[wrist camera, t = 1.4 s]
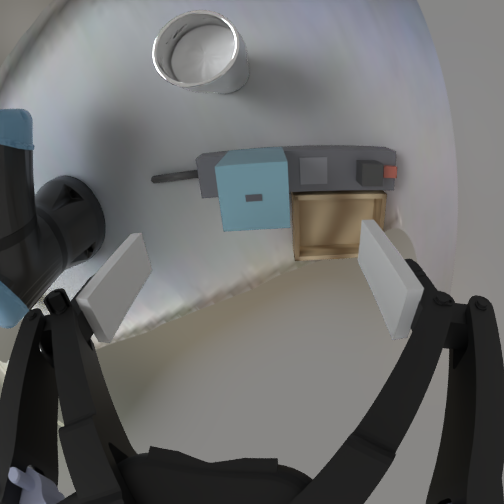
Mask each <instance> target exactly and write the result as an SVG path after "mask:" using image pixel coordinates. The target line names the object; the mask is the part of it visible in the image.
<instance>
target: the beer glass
mask: <svg viewBox="0 0 504 504" xmlns="http://www.w3.org/2000/svg"><path fill="white" fill-rule="evenodd" d="M152 59H153V64H154V66H155V69H156V70H157V72H158V73H159V75H160V76H161V77H162V78H163V79H165V80H166V81H167V82H169V83H171V84H173V85H176V86H179V87H181V88H183V89H186V90H189V91H192V92H198V93H213V92H215V93H220V94H227V93H232V92H235V91H237V90H238V89H240V88H241V87H242V86H243V85H244V84H245V83H246V81H247V79H248V77H249V72H250V67H249V63H248V61H247V59H248V55H247V49H246V45H245V42H244V40H243V38H242V36H241V35H240V33H239V32H238V31H237V29H236V28H235V26H234V25H233V24H232V22H231V21H230V20H228V19H227V18H226V17H224V16H223V15H221V14H219V13H216V12H212V11H207V10H196V11H190V12H187V13H184V14H181V15H179V16H177V17H175V18H174V19H172V20H171V21H169V22H168V23H167V24H166V25H165V26H164V27H163V28H162V29H161V31H160V32H159V33H158V35H157V37H156V39H155V41H154V44H153V49H152Z"/></svg>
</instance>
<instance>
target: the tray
mask: <svg viewBox="0 0 504 504" xmlns="http://www.w3.org/2000/svg"><path fill="white" fill-rule="evenodd" d="M291 196H292V224H293V251H294V257H295V261H304V260H322V259H340V258H356V257H358V254H359V244H360V234H361V222H362V220H375V222H376V223H377V224H378V225H379V227H380V228H381V229H382V231H383V227H384V218H385V208H386V197H387V194H386V193H385V192H384V191H383V190H338V191H304V192H291Z"/></svg>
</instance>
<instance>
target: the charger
mask: <svg viewBox="0 0 504 504" xmlns="http://www.w3.org/2000/svg"><path fill="white" fill-rule="evenodd" d="M215 173H216V181H217V188H218V195H219V202H220V209H221V217H222V223H223V230H224V232H225V231H241V230H258V229H277V228H290V205H289V183H288V164H287V159H286V156H285V153H284V151H283V148H282V147H267V148H253V149H241V150H230V151H228V152H227V153H226V155H225V156H224V157H223V158H222V159H221V160H220V161H219V163H218V164H217V165H216V166H215Z"/></svg>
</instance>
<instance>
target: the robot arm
mask: <svg viewBox="0 0 504 504" xmlns="http://www.w3.org/2000/svg"><path fill="white" fill-rule="evenodd" d="M32 125H33V122H32V117H31V115H30V113H29V112H28V111H26V110H24V109H1V110H0V326H1V327H3V328H12V327H14V326H16V325H17V323H18V322H19V321H20V320H21V319H22V318H23V317H24V318H23V321H22V323H21V326H20V329H19V332H18V335H17V338H16V341H15V344H14V347H13V350H12V353H11V357H10V360H9V364H8V367H7V371H6V375H5V379H4V383H3V388H2V393H1V398H0V504H364V503H365V501H366V500H367V498H368V497H369V496H370V495H371V493H372V492H373V490H374V489H375V487H376V486H377V485H378V483H379V482H380V480H381V479H382V477H383V476H384V475H385V473H386V471H387V470H388V468H389V467H390V465H391V463H392V462H393V460H394V458H395V455H396V454H395V453H396V450H397V448H398V447H399V445H400V443H401V441H402V440H403V438H404V436H405V434H406V432H407V430H408V429H409V427H410V424H411V423H412V421H413V419H414V417H415V415H416V413H417V411H418V409H419V406H420V404H421V402H422V400H423V398H424V395H425V393H426V391H427V388H428V386H429V383H430V381H431V379H432V376H433V374H434V371H435V368H436V366H437V363H438V360H439V357H440V354H441V351H442V348H449V375H448V376H449V377H448V390H447V401H446V409H445V418H444V425H443V431H442V437H441V442H440V447H439V452H438V456H437V461H436V465H435V469H434V473H433V477H432V480H431V484H430V488H429V492H428V495H427V500H426V504H504V497H503V486H502V471H503V464H504V366H503V358H502V350H501V344H500V339H499V333H498V327H497V323H496V318H495V313H494V309H493V306H492V304H491V303H490V302H489V300H488V299H486V298H484V297H481V296H472V297H471V298H470V300H469V302H468V304H458V303H455V302H454V300H453V298H452V297H451V296H450V295H449V294H447V293H445V292H441V291H437V289H436V288H435V287H434V285H433V284H432V282H431V281H430V279H429V278H428V277H427V276H426V274H425V273H424V271H423V270H422V268H421V267H420V266H419V264H417V263H416V262H415V261H413V260H412V259H403V257H402V256H401V254H400V253H399V252H398V250H397V249H396V248H395V246H394V245H393V244H392V242H391V241H390V240H389V238H388V237H387V236H386V234H385V233H384V232H383V231H382V229H381V228H380V227H379V225H378V224H377V223H376V222H375V220H362V222H361V234H360V244H359V254H358V263H359V265H360V267H361V269H362V271H363V273H364V276H365V278H366V280H367V282H368V284H369V286H370V289H371V291H372V293H373V295H374V297H375V300H376V302H377V304H378V306H379V309H380V311H381V314H382V316H383V319H384V321H385V323H386V325H387V328H388V331H389V333H390V336H391V338H392V340H396V339H402V338H407V337H408V334H409V331H410V329H412V334H411V336H410V338H409V340H408V342H407V344H406V347H405V348H404V350H403V352H402V354H401V356H400V358H399V360H398V362H397V364H396V365H395V368H394V369H393V371H392V373H391V375H390V376H389V378H388V380H387V382H386V383H385V385H384V387H383V388H382V390H381V392H380V393H379V395H378V397H377V398H376V400H375V401H374V403H373V404H372V406H371V407H370V409H369V411H368V412H367V413H366V415H365V416H364V418H363V419H362V421H361V422H360V424H359V425H358V427H357V428H356V429H355V431H354V432H353V433H352V434H351V435H350V436H349V437H348V438H347V440H346V441H345V442H344V443H343V445H342V446H341V448H340V449H339V450H338V451H337V452H336V454H335V455H334V456H333V457H332V458H331V460H330V461H329V462H328V463H327V464H326V466H325V467H324V468H323V469H322V470H321V471H320V473H319V474H318V475H317V476H316V477H315V478H314V479H311V478H310V477H308V476H307V475H306V474H304V473H302V472H300V471H298V470H296V469H294V468H291V467H287V466H284V465H278V459H277V458H267V459H266V458H265V459H264V458H242V459H235V460H229V461H222V462H215V463H208V462H205V461H202V460H199V459H196V458H194V457H191V456H189V455H186V454H183V453H181V452H179V451H173V450H168V449H162V448H157V447H152V446H150V449H149V453H142V454H137V453H136V452H135V451H134V449H133V448H132V446H131V444H130V442H129V440H128V438H127V436H126V433H125V431H124V429H123V427H122V424H121V422H120V420H119V417H118V415H117V412H116V410H115V407H114V405H113V402H112V400H111V397H110V394H109V391H108V388H107V386H106V383H105V380H104V377H103V374H102V371H101V367H100V364H99V361H98V358H97V354H96V351H95V347H94V343H93V342H92V340H91V336H92V335H93V333H94V335H95V336H96V338H97V340H98V342H105V343H110V342H111V340H112V339H113V337H114V335H115V333H116V331H117V330H118V328H119V326H120V324H121V322H122V321H123V319H124V317H125V315H126V314H127V312H128V310H129V308H130V307H131V305H132V303H133V302H134V300H135V298H136V297H137V295H138V293H139V292H140V290H141V288H142V287H143V285H144V283H145V282H146V280H147V278H148V277H149V275H150V274H151V272H152V267H151V263H150V260H149V257H148V253H147V250H146V246H145V243H144V239H143V236H142V233H132V234H130V236H129V237H128V238H127V239H126V240H125V241H124V242H123V243H122V244H121V245H120V246H119V248H118V249H117V250H116V251H115V252H114V253H113V254H112V255H111V256H110V258H109V259H108V260H107V261H106V262H105V263H104V265H103V266H102V267H101V268H100V269H99V270H98V272H97V273H96V274H94V275H93V276H92V277H90V278H89V279H88V281H87V282H86V283H85V285H83V287H82V288H81V290H79V292H78V293H77V294H76V295H75V297H74V298H73V299H72V300H71V302H70V300H69V298H68V296H67V294H66V292H65V290H64V289H62V288H61V289H56V290H54V291H52V292H50V293H49V294H48V295H47V296H46V297H45V298H44V303H45V305H46V307H47V309H48V310H49V312H50V315H45V316H44V315H43V313H42V311H41V310H40V309H38V308H36V309H33V310H31V309H32V307H33V306H34V305H35V304H36V303H37V301H38V300H39V299H40V298H41V296H42V295H43V294H44V293H45V292H46V290H47V289H48V288H49V287H50V286H51V285H52V283H53V282H54V281H55V280H56V279H57V278H58V277H59V275H60V274H61V273H62V272H63V271H64V270H66V269H69V268H71V267H73V266H76V265H78V264H81V263H83V262H85V261H87V260H89V259H90V258H91V257H92V256H93V255H94V254H95V253H96V252H97V251H98V250H99V248H100V247H101V245H102V243H103V240H104V235H105V222H104V216H103V212H102V209H101V207H100V204H99V202H98V200H97V199H96V197H95V195H94V194H93V193H92V191H91V190H90V189H89V188H88V187H87V186H86V185H85V184H84V183H82V182H81V181H79V180H78V179H76V178H73V177H69V176H60V177H57V178H55V179H53V180H51V181H49V182H47V183H46V184H44V185H43V186H42V187H41V188H40V190H39V191H38V192H37V193H36V195H35V194H34V180H33V150H34V145H33V134H32ZM40 349H41V351H40ZM58 398H59V400H60V406H61V411H62V416H63V420H64V426H63V427H61V428H59V437H60V441H61V445H62V449H63V453H64V456H65V460H66V463H67V467H68V469H69V473H70V476H71V479H72V482H73V485H74V487H75V490H76V492H75V493H73V494H72V495H70V496H68V497H67V498H65V497H64V495H63V494H62V493H60V492H59V491H58V488H57V485H58V446H57V419H58V416H57V415H58Z"/></svg>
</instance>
